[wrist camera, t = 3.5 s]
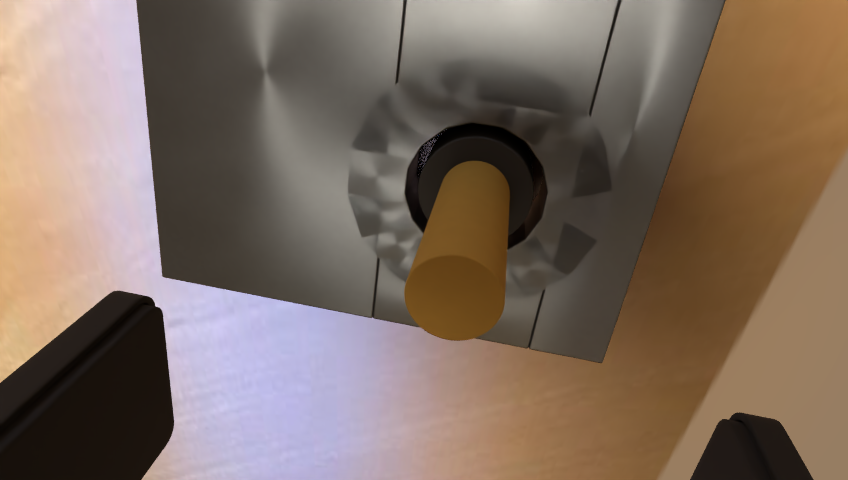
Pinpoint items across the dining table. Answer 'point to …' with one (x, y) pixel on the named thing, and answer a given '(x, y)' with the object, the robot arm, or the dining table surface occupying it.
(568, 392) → the dining table surface
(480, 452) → the dining table surface
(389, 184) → the drain plate
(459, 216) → the plug
